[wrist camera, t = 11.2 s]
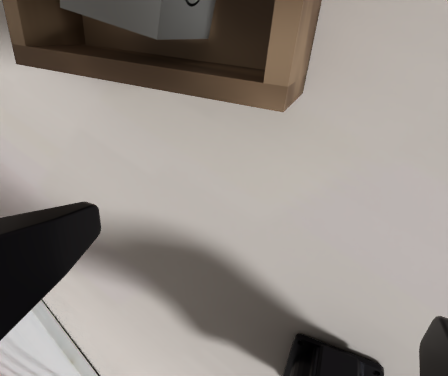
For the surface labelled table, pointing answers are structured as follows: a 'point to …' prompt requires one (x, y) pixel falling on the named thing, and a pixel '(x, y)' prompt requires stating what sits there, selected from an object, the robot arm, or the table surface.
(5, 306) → the robot arm
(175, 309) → the table surface
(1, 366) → the file sorter
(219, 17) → the open wooden box
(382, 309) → the table surface
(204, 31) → the dice cube
